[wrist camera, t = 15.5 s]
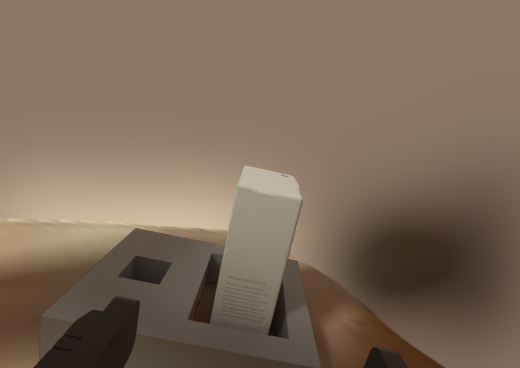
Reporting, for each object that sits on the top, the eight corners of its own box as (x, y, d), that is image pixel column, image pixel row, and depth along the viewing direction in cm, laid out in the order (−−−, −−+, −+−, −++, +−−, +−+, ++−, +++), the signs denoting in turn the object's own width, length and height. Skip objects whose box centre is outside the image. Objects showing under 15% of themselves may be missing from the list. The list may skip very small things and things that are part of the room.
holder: (39, 358, 16) (40, 315, 16) (132, 255, 28) (135, 228, 27) (307, 407, 17) (321, 368, 16) (290, 287, 29) (297, 260, 28)
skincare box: (217, 292, 25) (244, 164, 22) (264, 302, 26) (296, 175, 23) (202, 347, 20) (236, 183, 17) (263, 359, 20) (306, 198, 17)
